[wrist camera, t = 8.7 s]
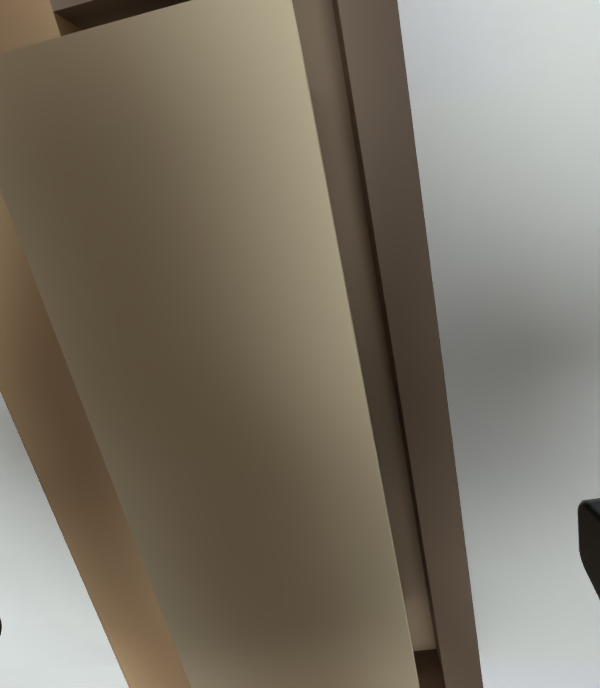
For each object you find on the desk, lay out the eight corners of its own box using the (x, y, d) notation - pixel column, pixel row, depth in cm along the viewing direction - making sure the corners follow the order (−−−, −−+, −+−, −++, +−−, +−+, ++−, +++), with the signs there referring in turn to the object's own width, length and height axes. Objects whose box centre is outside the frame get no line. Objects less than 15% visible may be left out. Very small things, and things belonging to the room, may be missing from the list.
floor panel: (357, -138, 10) (366, -239, 7) (467, 662, 16) (490, 743, 14) (-82, -8, 11) (-196, -59, 9) (186, 689, 18) (164, 769, 15)
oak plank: (309, 88, 10) (286, -26, 5) (403, 600, 14) (452, 873, 9) (153, 127, 11) (-48, 66, 5) (289, 613, 15) (265, 881, 9)
